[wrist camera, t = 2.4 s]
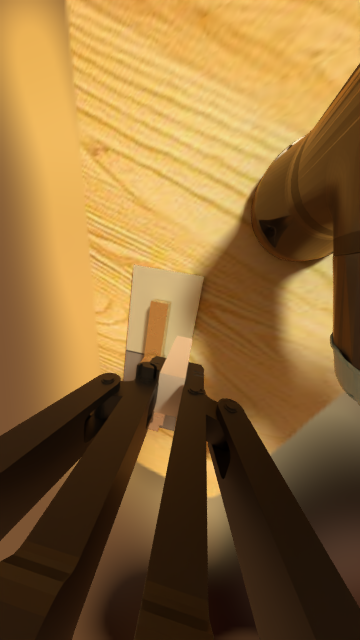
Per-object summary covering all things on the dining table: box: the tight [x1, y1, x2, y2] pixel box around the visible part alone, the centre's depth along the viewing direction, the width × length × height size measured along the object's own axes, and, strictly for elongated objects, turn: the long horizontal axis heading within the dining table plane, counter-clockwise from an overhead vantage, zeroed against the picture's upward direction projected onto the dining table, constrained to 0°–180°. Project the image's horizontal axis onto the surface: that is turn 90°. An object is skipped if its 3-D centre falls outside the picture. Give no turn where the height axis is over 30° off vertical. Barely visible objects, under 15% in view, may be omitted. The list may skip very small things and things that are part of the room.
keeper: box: [148, 410, 165, 431], centre depth 34 cm, size 7×8×3 cm
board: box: [124, 265, 204, 431], centre depth 33 cm, size 12×32×1 cm, turn 171°
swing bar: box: [140, 299, 172, 363], centre depth 29 cm, size 13×4×4 cm, turn 171°
